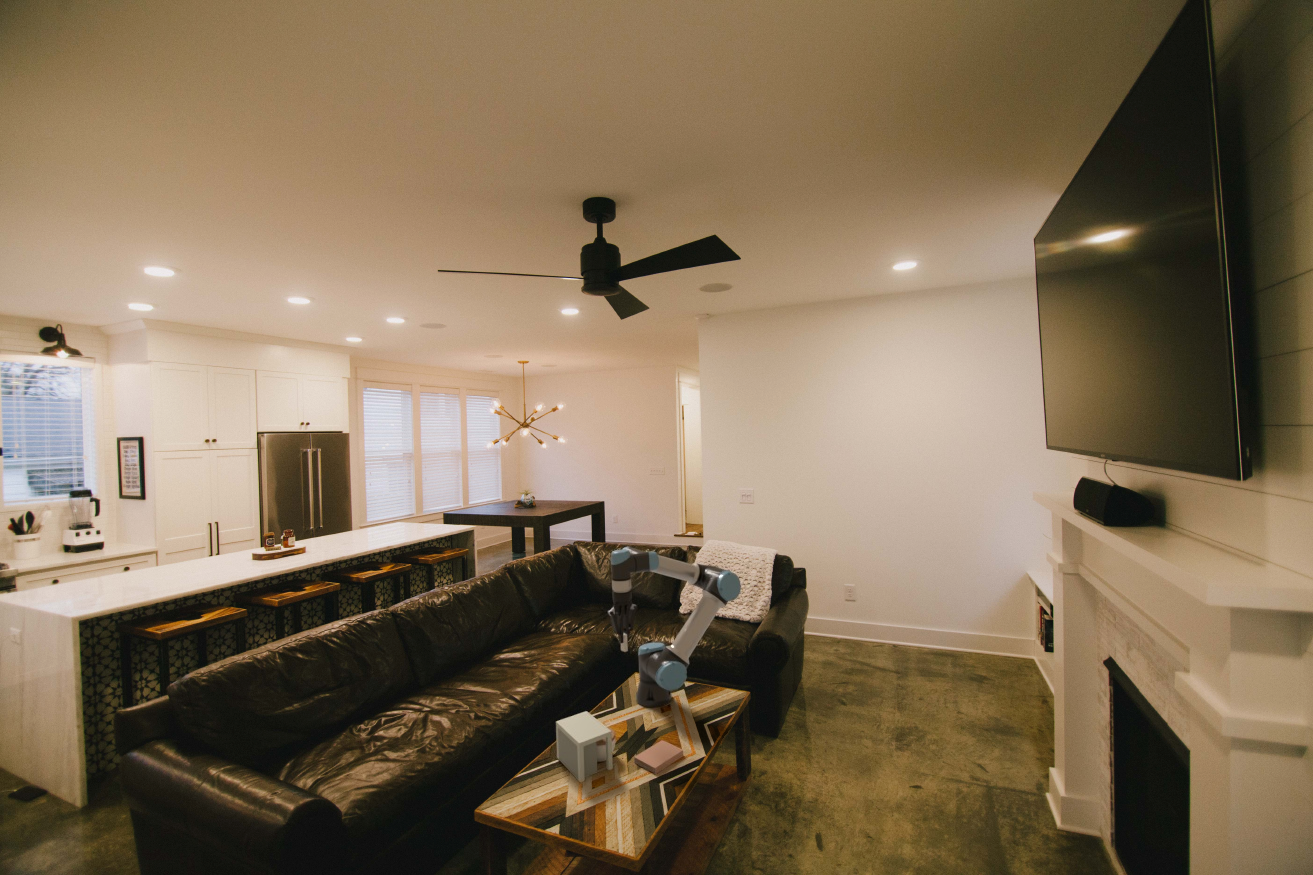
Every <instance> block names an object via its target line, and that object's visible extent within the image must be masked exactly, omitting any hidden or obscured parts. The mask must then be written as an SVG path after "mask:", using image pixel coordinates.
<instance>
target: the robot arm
mask: <svg viewBox="0 0 1313 875" xmlns="http://www.w3.org/2000/svg"><path fill="white" fill-rule="evenodd" d="M610 556H611V557H610V566H611V568H610V569H611V588H612V593H611V594H612V602H613V603H612V607H611V609H609V610H607V611H606V612H607V615H608V616H609V618H610V622H611V626H612V630H613V633H614V634H616V635H618V643H619V644H620V651H621V652H624V653H626V652H628V651H629V650H628V649H629V648H628V645H629V644H628V642H630V639H629V638H630V637H629V636H630V634H631V632H632V631H633V630H634V626H635V619H636V618H635V617H636V611H637V610H638V605H637V604H634V603H633V601H632V599H633V595H632V590H631V589H632V574H639V573H645V572H652V573H656V574H659V575H663V576H666V577H670V578H675V579H677V580H681V581H684V582H687V583H688V584H689V585H690V586H691V585H692V586H695V587H697V588H699V589H701V590H702V598H701V599H699V601H698V603H697V604H696V606H695V608H694V610H692V612H691V614H690V615H689V616H688V618H687V620H686V621H685V623H684V625H683V626H682V628H681V629H680V631H679V632H678V633H677V635H676V637H675V639H674V640H673V642H672V644H671V645H665V644H666V643H663V642H648V643H644V644H642V645H640V646H639V648H638V652H637V653H638V654H637V655H638V674H639V678H638V679H639V682H638V684H637V685H638V686H637V689H636V690H637V691H636V693H635V700H636V703H637V704H638V705H640V706H643V707H647V708H656V707H662V706H665V705H668V704H669V703H671V701H672V692H673V691H676V690H678V689H680V688H681V687H682V686H683V685H684V684H685V682H686V680H687V677H688V675H687V673H688V672H687V669H688V667H689V665H690V660H689V658H690V657H691V655H692V653H693V652H694V650H695V648H696V647H697V645H698V643H699V642H700V641H701V639H702V637H703V636H704V634H705V632H706V631H707V629H708V628H709V626H710V624H711V623H712V621H713V620H714V619H715V617H716V614H718V612H719V610H720V609H721V608H726V606H727V605H728V603H729V602H730V601H734V600H736V599H738V596H740V594H741V589H742V585H741V580H740V578H739V576H738V574H736V573H734V572H732V571H730V570H727V569H723V568H721V567H717V566H714V565H708V564H702V563H701V564H700V563H696V562H692V563H689V562H685V561H681V560H677V559H674V558H670V557H667V556H663V555H659V554H658V553H657V552H656V551H653V550H651V551H650V550H649V551H648V550H647V551H644V550H641V549H637V548H634V547H632V546H625V547H623V548H622V549H616V550H613V551H612V552H611V555H610ZM671 691H672V692H671Z"/></svg>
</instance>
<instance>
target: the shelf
mask: <svg viewBox="0 0 1313 875" xmlns="http://www.w3.org/2000/svg"><path fill="white" fill-rule="evenodd" d="M607 727H608V726H605V725H604V724H603V723H602V722H601V721H599V720H598V719H597V718H595V716H593V715H592V713H590V712H588V711H586V710H585V711H583V712H580V713H577V714H574V715H572V716H568V717H565V718H561V719H560V720H557V721H555V733H556V734H555V735H556V736H555V737H556V758H557V759H558V760H559V762H561V764H562V765H563V766H564V767H565V768H566V769H567V770H568V771H569V772H570V773H571V774H572V775H573V776H574V777H575V778H576V780H577V781H579V783H583V782H585V778H587V777H589V776H592V775H594V774H597V773H598V762H597V746H596V741H599V740H602V739H604V738H606V760H605V762H606V763H605V764H606V769H607V770H608V771H611V770H613V769H614V766H613V764H614V763H613V753H612V734H611V730H609V729H608V728H609V727H608V728H607Z"/></svg>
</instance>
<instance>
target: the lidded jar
mask: <svg viewBox="0 0 1313 875" xmlns="http://www.w3.org/2000/svg"><path fill="white" fill-rule="evenodd" d="M606 727H607V728H608V729H609V730H611V734H612V754H613V752H614V751H615V748H616V747H615V746H616V731H615V730H614V729H613V728H611V727H608V726H606ZM596 746H597V763H601V762H606V738H604V739H602V740H599V741H596Z"/></svg>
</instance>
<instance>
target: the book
mask: <svg viewBox="0 0 1313 875" xmlns="http://www.w3.org/2000/svg"><path fill="white" fill-rule="evenodd" d="M682 757H684V749H682V748H680V747H678V746H676V745H673V744H671V743H669V742H668V741H665V740H663V739H661V740H660V741H659V742H656V743H654V744H653V745H652V746H650V747H648V748H646V749H645V750H643V751H642V752H640V753H638V754H636V755H634V757H633V758H634V759H633V760H634V764H636V765H638V766H640V767H641V768H644V769H645V770H647V771H648V772H651V773H653V774H654V775H657V774H658V773H659V772H661V771H663V770H664V769H665V768H667V767H669V766H670V765H673V763H675V762H676V761H677V760H679V759H681V758H682Z"/></svg>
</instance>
